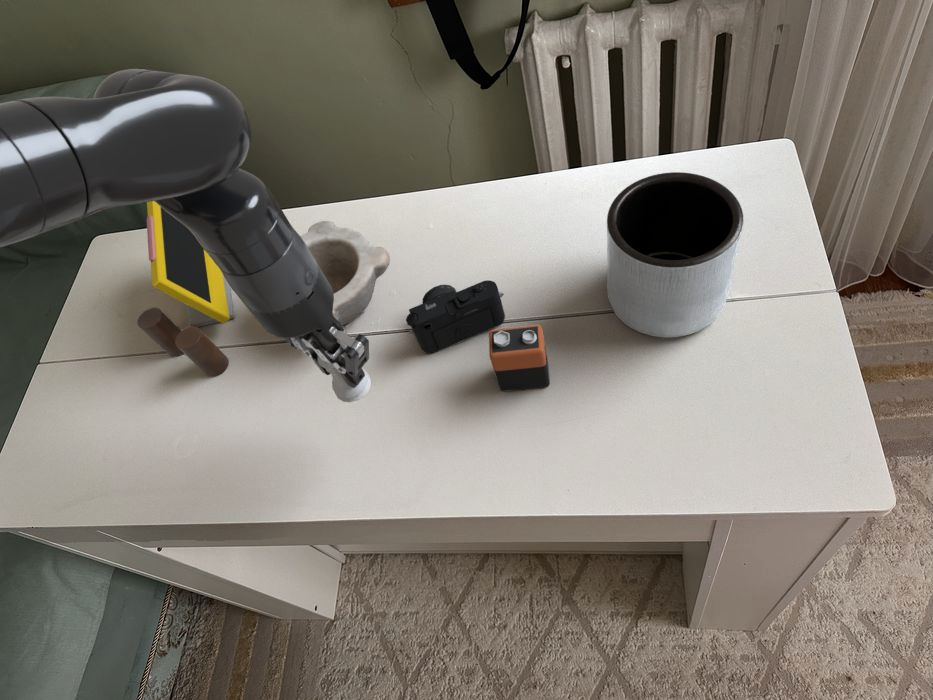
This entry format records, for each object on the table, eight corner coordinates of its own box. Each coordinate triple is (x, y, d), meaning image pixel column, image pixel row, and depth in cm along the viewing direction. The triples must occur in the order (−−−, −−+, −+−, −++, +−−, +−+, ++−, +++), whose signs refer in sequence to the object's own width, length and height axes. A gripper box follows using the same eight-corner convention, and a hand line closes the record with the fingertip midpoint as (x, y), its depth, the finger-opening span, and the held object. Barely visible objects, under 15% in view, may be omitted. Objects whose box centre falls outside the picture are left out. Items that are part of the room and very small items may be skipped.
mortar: (413, 289, 98) (396, 250, 91) (338, 366, 93) (313, 331, 86) (343, 248, 107) (322, 209, 99) (270, 317, 101) (242, 281, 94)
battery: (499, 365, 88) (487, 324, 79) (548, 360, 86) (540, 318, 78) (500, 392, 85) (487, 353, 77) (550, 388, 84) (543, 347, 76)
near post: (217, 380, 96) (187, 352, 90) (199, 371, 98) (169, 343, 92) (233, 360, 98) (206, 331, 91) (216, 351, 100) (188, 322, 93)
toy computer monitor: (240, 331, 101) (185, 268, 88) (195, 350, 101) (133, 289, 88) (226, 249, 112) (176, 183, 99) (185, 266, 112) (129, 201, 99)
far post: (179, 360, 100) (148, 332, 94) (163, 351, 102) (131, 323, 95) (195, 341, 102) (166, 312, 95) (179, 333, 103) (150, 304, 97)
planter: (714, 353, 82) (731, 278, 69) (593, 328, 88) (589, 255, 75) (735, 261, 89) (755, 177, 76) (623, 243, 95) (624, 163, 82)
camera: (495, 288, 95) (486, 253, 89) (513, 323, 91) (505, 289, 85) (408, 325, 95) (392, 292, 88) (422, 361, 91) (406, 330, 84)
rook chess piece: (370, 403, 72) (345, 367, 65) (333, 405, 73) (305, 370, 66) (374, 369, 74) (350, 331, 68) (339, 372, 75) (312, 335, 69)
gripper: (198, 284, 59) (279, 377, 73) (308, 335, 53) (373, 426, 67) (251, 228, 61) (319, 328, 76) (360, 270, 55) (412, 371, 70)
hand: (344, 374), depth 71 cm, fingers closed on rook chess piece, 3 cm apart
